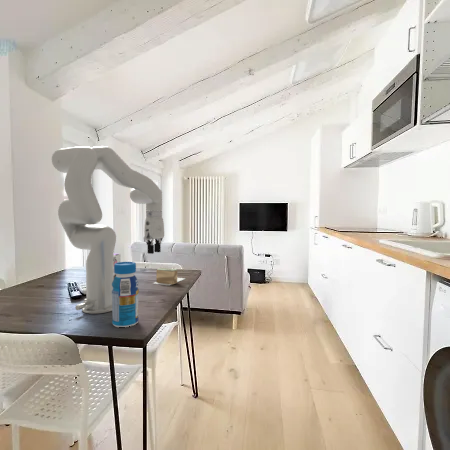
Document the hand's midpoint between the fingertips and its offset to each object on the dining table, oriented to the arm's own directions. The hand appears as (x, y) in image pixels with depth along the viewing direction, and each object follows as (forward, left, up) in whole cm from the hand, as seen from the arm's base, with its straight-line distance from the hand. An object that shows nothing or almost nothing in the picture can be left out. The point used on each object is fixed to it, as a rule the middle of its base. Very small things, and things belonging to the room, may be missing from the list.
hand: (154, 252), depth 141 cm
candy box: (-11, +18, -18) cm, 28 cm away
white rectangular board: (+15, +1, -17) cm, 23 cm away
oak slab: (+11, 0, -17) cm, 20 cm away
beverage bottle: (-41, -18, -18) cm, 48 cm away
